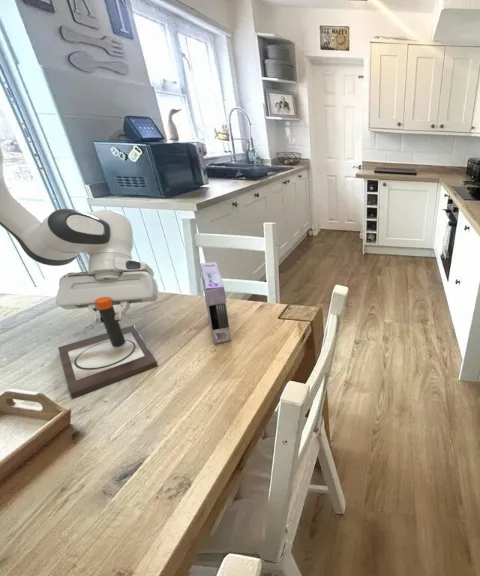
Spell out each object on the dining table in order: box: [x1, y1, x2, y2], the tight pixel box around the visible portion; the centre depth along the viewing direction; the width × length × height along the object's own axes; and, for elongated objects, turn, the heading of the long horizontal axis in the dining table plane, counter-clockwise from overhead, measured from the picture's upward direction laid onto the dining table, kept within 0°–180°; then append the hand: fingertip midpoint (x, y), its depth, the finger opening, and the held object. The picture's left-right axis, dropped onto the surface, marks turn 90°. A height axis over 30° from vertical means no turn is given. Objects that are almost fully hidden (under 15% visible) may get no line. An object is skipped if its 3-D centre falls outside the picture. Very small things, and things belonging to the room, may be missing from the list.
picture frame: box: [57, 324, 159, 399], centre depth 81 cm, size 22×16×2 cm
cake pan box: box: [199, 261, 232, 345], centre depth 93 cm, size 19×5×18 cm, turn 31°
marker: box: [95, 297, 125, 347], centre depth 81 cm, size 3×3×13 cm
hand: (109, 321), depth 80 cm, fingers closed on marker, 3 cm apart
